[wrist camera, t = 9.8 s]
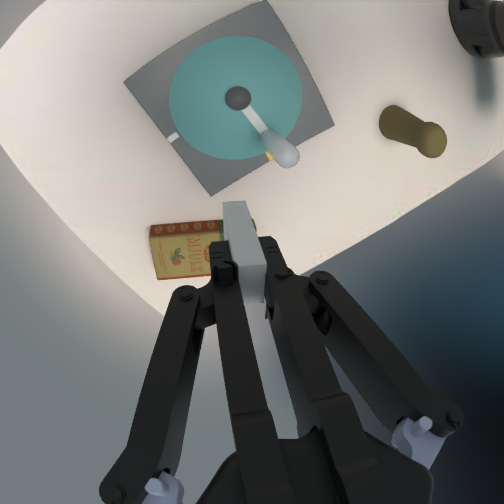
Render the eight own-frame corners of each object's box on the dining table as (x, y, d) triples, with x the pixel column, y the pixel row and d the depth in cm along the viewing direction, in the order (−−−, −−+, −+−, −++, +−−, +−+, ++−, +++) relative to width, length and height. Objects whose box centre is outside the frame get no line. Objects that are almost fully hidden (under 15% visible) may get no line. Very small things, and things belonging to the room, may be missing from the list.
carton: (150, 223, 41) (147, 238, 38) (253, 215, 44) (258, 230, 41) (158, 265, 46) (156, 282, 43) (250, 257, 49) (255, 273, 46)
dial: (143, 93, 27) (125, 101, 20) (250, 14, 24) (270, -3, 16) (224, 179, 37) (234, 213, 29) (320, 110, 33) (356, 126, 26)
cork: (399, 144, 40) (442, 169, 31) (374, 132, 38) (418, 156, 29) (411, 113, 37) (457, 134, 28) (386, 99, 35) (434, 116, 26)
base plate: (262, 2, 24) (266, -2, 22) (328, 122, 36) (335, 125, 34) (126, 81, 27) (122, 82, 26) (210, 190, 40) (211, 197, 38)
